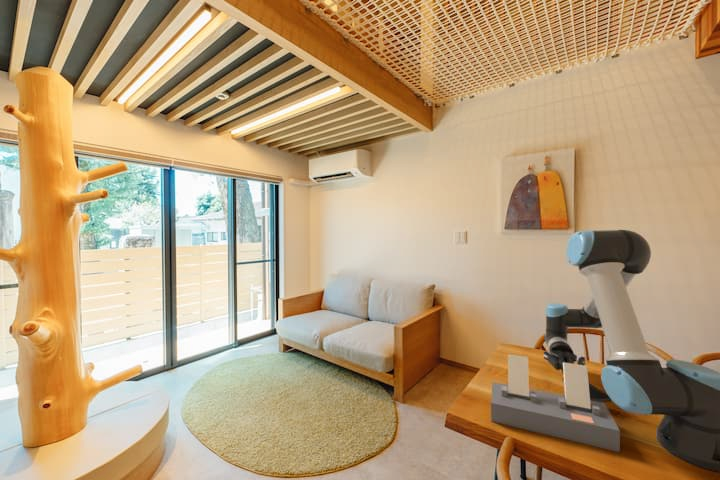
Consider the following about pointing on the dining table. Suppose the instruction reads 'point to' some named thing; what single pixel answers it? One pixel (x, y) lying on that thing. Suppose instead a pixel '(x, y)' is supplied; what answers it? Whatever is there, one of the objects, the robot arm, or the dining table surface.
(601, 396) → the phone
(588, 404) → the lever
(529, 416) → the switch unit
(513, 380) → the lever
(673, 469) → the dining table surface
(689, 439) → the robot arm
